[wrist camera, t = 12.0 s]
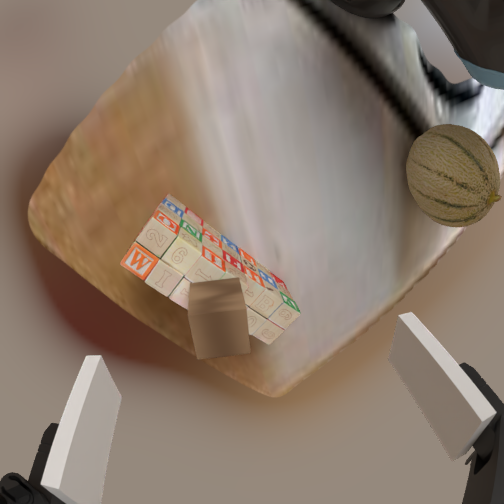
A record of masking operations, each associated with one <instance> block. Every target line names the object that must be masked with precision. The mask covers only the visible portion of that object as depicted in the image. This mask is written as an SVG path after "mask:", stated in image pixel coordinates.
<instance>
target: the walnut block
mask: <svg viewBox="0 0 504 504" xmlns="http://www.w3.org/2000/svg"><path fill="white" fill-rule="evenodd" d="M188 320H189V325H190V329H191V334H192V339H193V343H194V347H195V352H196V356H197V359H208V358H217V357H225V356H234V355H241V354H249V353H251V350H250V340H249V329H248V319H247V308H246V304H245V300H244V296H243V292H242V288H241V283H240V279H239V277H237V278H229V279H221V280H212V281H204V282H195V283H190V289H189V302H188Z"/></svg>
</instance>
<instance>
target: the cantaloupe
mask: <svg viewBox="0 0 504 504" xmlns="http://www.w3.org/2000/svg"><path fill="white" fill-rule="evenodd" d="M406 173H407V180H408V186H409V189H410V192H411V194H412V195H413V197H414V199H415V201H416V202H417V204H418V206H419V207H420V208H421V209H422V211H423V212H424V213H425V214H426V215H428V216H429V217H430V218H431V219H432V220H434V221H435V222H438V223H439V224H441V225H445V226H450V227H464V226H469V225H471V224H473V223H476V222H478V221H480V220H481V219H482V218H483V217H484V216H485V215H486V214H487V213H488V212H489V210H490V209H491V208H492V206H493V204H494V202H497V201H499V200H500V199H501V196H500V195H498V191H499V186H500V173H499V168H498V163H497V160H496V157H495V155H494V153H493V151H492V150H491V148H490V147H489V145H488V144H487V143H486V141H485V140H484V139H483V138H482V137H481V136H479V135H478V134H477V133H475V132H474V131H472V130H470V129H468V128H465V127H462V126H458V125H452V124H443V125H437V126H434V127H432V128H430V129H429V130H428V131H426V132H424V134H422V135H421V136H419V137H418V138H417V139H416V140H415V141H414V143H413V145H412V147H411V150H410V152H409V156H408V159H407V163H406Z"/></svg>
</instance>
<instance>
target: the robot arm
mask: <svg viewBox="0 0 504 504" xmlns="http://www.w3.org/2000/svg"><path fill="white" fill-rule="evenodd" d="M331 1H332V2H334V3H335V4H336V5H338V6H339V7H341V8H343V9H344V10H346V11H348V12H351V13H353V14H356V15H359V16H362V17H367V18H381V17H385V16H387V15H389V14H391V13H393V12H395V11H397V10H398V9H399V8H400V7H401V6H402V5H403V3H404V2H405V0H331ZM421 1H422V2H423V4H424V5H425V6H426V7H427V9H428V10H429V12H430V13H431V15H432V16H433V17H434V19H435V20H436V21H437V23H438V24H439V26H440V27H441V29H442V30H443V32H444V33H445V35H446V36H447V38H448V40H449V41H450V43H451V44H452V46H453V48H454V52H455V53H456V55H457V56H458V57H459V58H460V59H461V60H462V62H463V64H464V65H465V67H466V69H467V70H468V72H469V73H470V75H471V76H472V77H473V78H474V79H476V80H477V81H478V82H479V83H481V84H483V85H485V86H488V87H491V88H495V89H503V90H504V0H421ZM388 360H389V362H390V363H391V365H392V366H393V368H394V369H395V371H396V372H397V374H398V375H399V377H400V379H401V380H402V381H403V383H404V385H405V386H406V387H407V389H408V391H409V392H410V394H411V395H412V397H413V399H414V400H415V402H416V403H417V405H418V406H419V408H420V410H421V411H422V413H423V415H424V416H425V418H426V419H427V421H428V423H429V424H430V426H431V428H432V429H433V431H434V432H435V434H436V436H437V437H438V439H439V441H440V442H441V444H442V446H443V447H444V449H445V451H446V453H447V454H448V456H449V458H450V459H451V461H454V460H456V459H458V458H459V457H461V456H463V455H464V454H466V453H467V451H469V449H470V448H471V447H472V446H473V447H474V449H475V451H474V452H473V453H472V454H471V456H470V457H469V458H468V459H467V460H466V463H465V465H467V464H468V463H469V462H470V461H471V460H472V461H471V464H470V465H471V467H470V472H469V478H468V481H467V486H466V490H465V494H464V498H463V502H462V504H504V404H503V403H502V401H501V400H500V399H499V398H498V396H497V395H496V394H495V393H494V392H493V390H492V389H491V388H490V387H489V386H488V385H487V384H486V382H485V381H484V379H483V378H481V376H480V375H479V374H478V372H477V371H476V370H475V369H474V368H473V367H471V366H469V365H468V364H466V363H462V364H460V365H458V364H457V363H456V361H455V360H454V359H453V358H452V357H451V355H450V354H449V353H448V352H447V351H446V350H445V349H444V347H443V346H442V345H441V344H440V343H439V342H438V340H437V339H436V338H435V337H434V336H433V335H432V334H431V333H430V331H429V330H428V329H427V328H426V327H425V326H424V325H423V324H422V323H421V322H420V320H419V319H418V318H417V317H416V316H415V315H414V314H413V313H412V312H410V313H405V314H401V315H398V319H397V324H396V328H395V333H394V337H393V342H392V346H391V350H390V354H389V358H388ZM121 399H122V397H121V395H120V393H119V391H118V389H117V387H116V385H115V383H114V381H113V379H112V377H111V375H110V373H109V371H108V369H107V367H106V365H105V363H104V361H103V359H102V356H101V355H100V356H86V358H85V360H84V362H83V365H82V367H81V370H80V372H79V374H78V377H77V379H76V382H75V384H74V386H73V389H72V392H71V394H70V397H69V399H68V402H67V404H66V407H65V410H64V413H63V415H62V418H61V421H60V424H56V423H51V424H50V426H49V427H48V428H47V429H46V430H45V432H44V434H43V437H42V440H41V444H40V445H39V449H38V453H37V454H36V457H35V460H34V464H33V467H32V470H31V473H30V476H29V480H28V481H27V480H25V479H24V478H23V477H22V476H21V475H19V474H18V473H13V472H12V473H8V474H6V475H5V476H3V478H2V479H1V481H0V504H101V500H102V493H103V487H104V481H105V475H106V469H107V464H108V458H109V453H110V448H111V443H112V438H113V433H114V429H115V424H116V420H117V415H118V411H119V407H120V403H121Z"/></svg>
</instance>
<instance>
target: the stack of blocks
mask: <svg viewBox="0 0 504 504" xmlns="http://www.w3.org/2000/svg"><path fill="white" fill-rule="evenodd" d="M120 264H121V265H122V266H123V267H125V268H126V269H128V270H129V271H131V272H132V273H133V274H135V275H136V276H138V277H139V278H141V279H142V280H144V281H145V283H146V284H148V285H149V286H151V287H152V288H154V289H155V290H157V291H158V292H160V293H162V294H163V295H165V296H167V297H169V298H170V300H172V301H174V302H175V303H177V304H179V305H180V306H182V307H183V308H185V309H187V310H188V302H189V289H190V283H195V282H204V281H212V280H221V279H229V278H237V277H239V279H240V283H241V288H242V292H243V296H244V300H245V304H246V308H247V319H248V329H249V334H250V335H253V336H254V337H256V338H258V339H259V340H261V341H263V342H264V343H266V344H268V345H270V344H271V343H272V342H273V341H274V340H275V339H276V338H277V337H278V336H279V335H281V334H282V333H283V332H284V330H285V329H286V328H287V327H288V326H289V325H290V324H291V323H292V322H293V321H294V320H295V319H296V318H297V317H298V316H299V315H300V314H301V313H300V310H299V308H298V306H297V305H296V303H295V301H293V299H292V297H291V295H290V293H289V291H288V290H287V287H286V285H285V284H284V282H283V281H282V280H280V279H279V278H277V277H276V276H275V275H273V274H272V273H271V272H269V270H268V269H266V268H265V267H264V266H262V265H261V264H260V263H258V262H257V261H256V260H254V259H253V258H252V257H251V256H249V255H248V254H247V253H246V252H244V251H243V250H242V249H240V248H239V247H237V246H235V245H234V244H233V243H232V242H230V241H229V240H228V239H226V238H225V237H224V236H222V235H221V234H220V233H218V232H217V231H216V230H214V229H213V228H212V227H210V226H209V225H208V224H207V223H205V222H204V221H203V220H202V219H201V218H200V217H198V216H197V215H196V214H194V213H193V212H192V211H190V210H189V209H188V208H187V207H185V206H184V205H183V204H182V203H181V202H179V201H178V200H177V199H175V198H174V197H173V196H172V195H170V194H167V196H166V197H165V198H164V200H163V201H162V202H161V203H160V204H159V206H158V207H157V209H156V210H155V211H154V213H153V214H152V216H151V217H150V218H149V220H148V221H147V223H146V224H145V225H144V227H143V228H142V230H141V231H140V233H139V234H138V236H137V237H136V239H135V240H134V242H133V243H132V244H131V246H130V248H129V249H128V251H127V253H126V255H125V256H124V258H123V260H122V261H121V263H120Z"/></svg>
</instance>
